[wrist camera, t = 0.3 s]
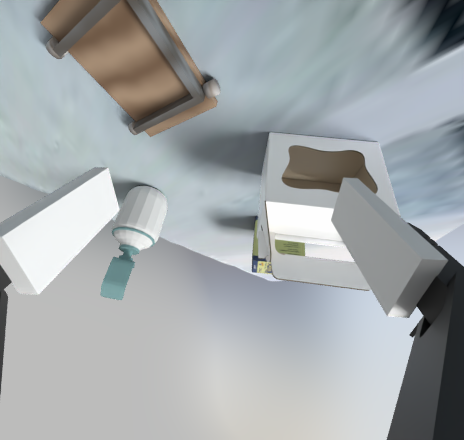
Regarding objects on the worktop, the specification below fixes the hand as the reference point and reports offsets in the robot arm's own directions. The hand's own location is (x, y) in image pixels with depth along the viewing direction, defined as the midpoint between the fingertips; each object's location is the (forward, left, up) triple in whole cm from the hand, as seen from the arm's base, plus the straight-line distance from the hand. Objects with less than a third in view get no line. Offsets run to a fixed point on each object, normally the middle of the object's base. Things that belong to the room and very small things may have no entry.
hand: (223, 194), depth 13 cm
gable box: (+31, 0, -32) cm, 44 cm away
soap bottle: (+27, -48, -32) cm, 64 cm away
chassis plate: (-1, -21, -32) cm, 38 cm away
